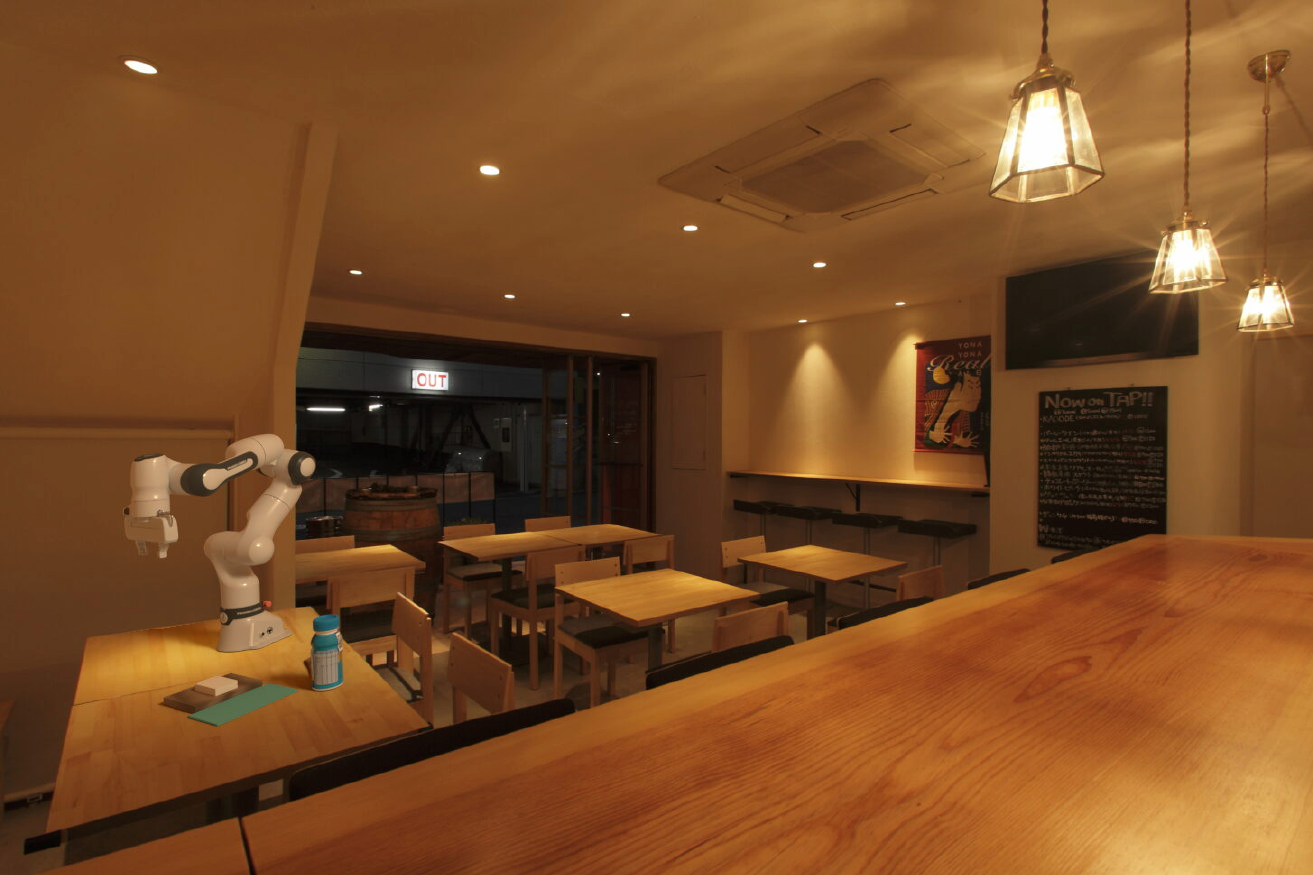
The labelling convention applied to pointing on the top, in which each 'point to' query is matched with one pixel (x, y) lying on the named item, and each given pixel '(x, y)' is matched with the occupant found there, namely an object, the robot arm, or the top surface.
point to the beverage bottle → (326, 653)
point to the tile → (216, 685)
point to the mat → (242, 704)
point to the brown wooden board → (200, 701)
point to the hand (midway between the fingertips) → (152, 556)
